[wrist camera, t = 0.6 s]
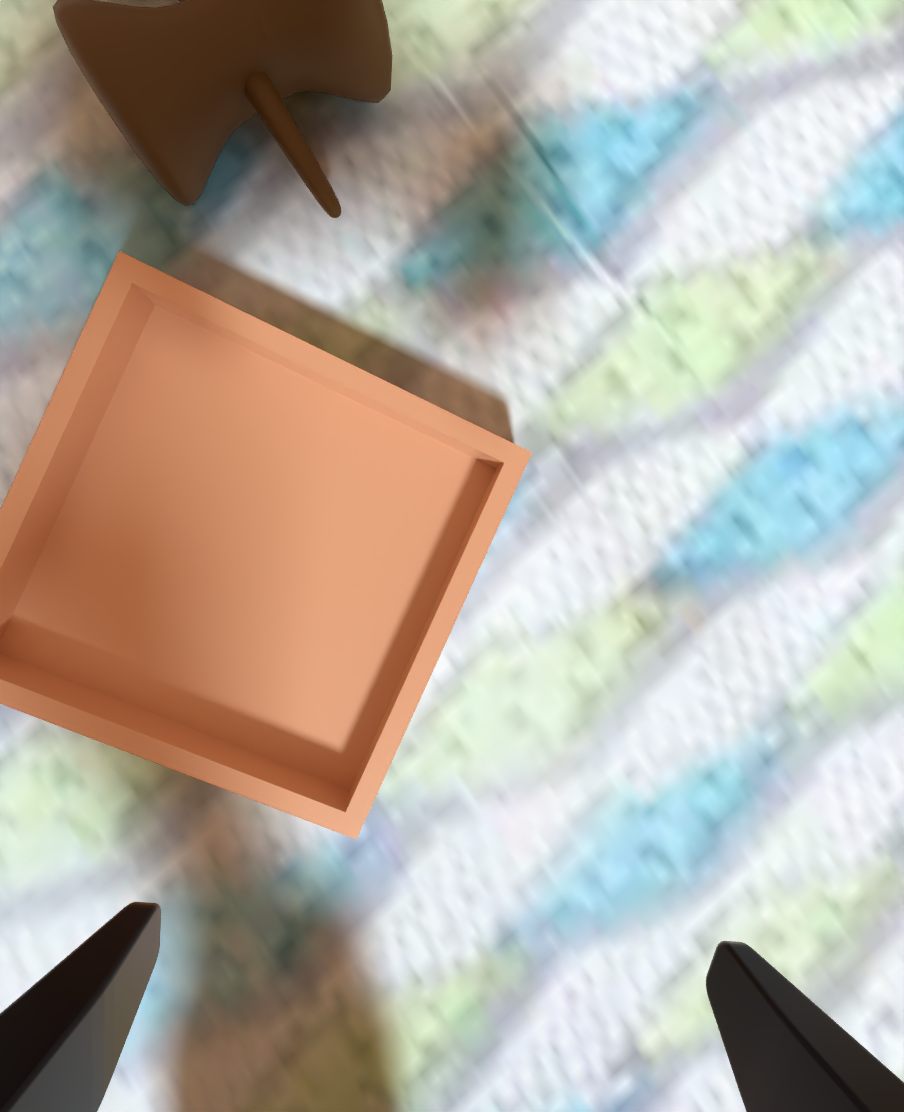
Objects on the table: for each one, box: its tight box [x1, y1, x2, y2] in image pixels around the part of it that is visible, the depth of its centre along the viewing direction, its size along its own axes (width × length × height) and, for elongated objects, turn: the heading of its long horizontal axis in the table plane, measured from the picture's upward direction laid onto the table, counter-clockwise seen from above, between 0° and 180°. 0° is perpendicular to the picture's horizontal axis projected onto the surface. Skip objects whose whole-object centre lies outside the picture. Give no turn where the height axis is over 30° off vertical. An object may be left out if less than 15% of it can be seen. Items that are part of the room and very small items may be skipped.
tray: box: [0, 251, 532, 839], centre depth 20 cm, size 16×16×2 cm
